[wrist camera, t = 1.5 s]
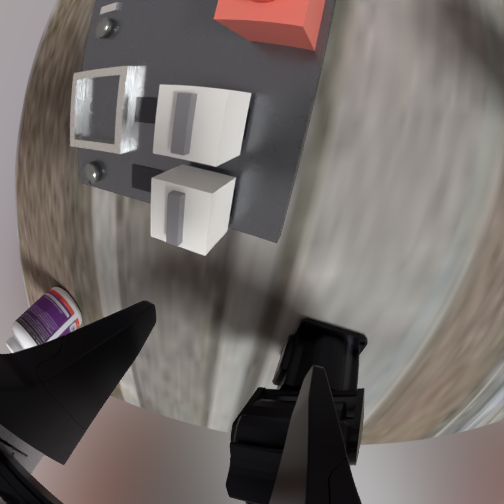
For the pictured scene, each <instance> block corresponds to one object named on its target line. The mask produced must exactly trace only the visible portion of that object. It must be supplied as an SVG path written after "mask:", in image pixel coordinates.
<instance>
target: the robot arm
mask: <svg viewBox="0 0 504 504" xmlns="http://www.w3.org/2000/svg"><path fill="white" fill-rule="evenodd" d="M155 323H156V310H155V305H154V304H153V303H151V302H148V301H142V302H139V303H137V304H135V305H132V306H130V307H128V308H125V309H123V310H121V311H118V312H116V313H114V314H112V315H109V316H107V317H105V318H102V319H100V320H98V321H95V322H93V323H91V324H88V325H86V326H84V327H81V328H79V329H77V330H75V331H72V332H70V333H68V334H66V335H63V336H60V337H58V338H56V339H53V340H51V341H48V342H46V343H43V344H40V345H37V346H34V347H30V348H27V349H24V350H21V351H17V352H14V353H10V354H0V504H63V503H62V502H61V501H60V500H58V499H57V498H56V497H55V496H54V495H52V494H51V493H50V492H49V491H48V490H47V489H46V488H45V487H44V486H42V485H41V484H40V483H39V482H38V481H37V480H36V479H35V478H34V477H33V476H32V475H31V473H32V471H33V470H34V469H35V467H36V466H37V464H38V463H39V462H40V460H41V459H42V457H43V456H44V454H45V455H46V456H48V457H50V458H51V459H53V460H55V461H57V462H59V463H61V464H63V465H64V464H65V463H66V461H67V460H68V458H69V457H70V455H71V454H72V452H73V450H74V449H75V447H76V446H77V444H78V443H79V441H80V440H81V438H82V437H83V435H84V433H85V432H86V430H87V429H88V427H89V426H90V424H91V423H92V421H93V420H94V418H95V417H96V415H97V414H98V412H99V411H100V409H101V408H102V406H103V405H104V403H105V402H106V400H107V399H108V397H109V396H110V395H111V393H112V392H113V390H114V389H115V387H116V386H117V384H118V383H119V382H120V380H121V379H122V377H123V376H124V374H125V373H126V372H127V370H128V369H129V367H130V366H131V364H132V363H133V362H134V360H135V359H136V357H137V356H138V354H139V352H140V351H141V349H142V347H143V345H144V343H145V341H146V340H147V338H148V336H149V334H150V332H151V331H152V329H153V327H154V325H155ZM305 324H307V325H305ZM361 341H363V342H361ZM366 345H367V338H366V337H364V336H361V335H357V334H354V333H351V332H347V331H344V330H341V329H338V328H334V327H331V326H328V325H325V324H322V323H319V322H315V321H312V320H309V319H302V320H301V321H300V324H299V326H298V328H297V330H296V332H295V335H293V334H292V335H290V336H289V337H288V339H287V342H286V344H285V346H284V348H283V351H282V354H281V357H280V360H279V363H278V366H277V369H276V372H275V375H274V378H273V381H272V382H273V384H275V385H278V387H277V389H266V388H263V387H258V389H257V390H256V391H255V393H254V394H253V396H252V397H251V398H250V400H249V401H248V403H247V404H246V405H245V407H244V408H243V410H242V411H241V412H240V414H239V415H238V417H237V418H236V420H235V421H234V422H233V425H232V432H231V442H230V454H231V458H230V468H229V473H228V477H227V481H226V488H227V491H228V495H229V497H231V498H235V499H238V500H242V501H245V502H246V504H362V503H361V501H360V498H359V495H358V492H357V489H356V486H355V483H354V480H353V477H352V473H351V470H350V465H356V462H357V458H358V453H359V448H360V443H361V438H362V429H363V418H364V388H362V389H357V384H358V370H359V355H360V353H361V352H362V351H363V349H364V348H365V347H366Z"/></svg>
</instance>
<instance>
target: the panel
mask: <svg viewBox="0 0 504 504" xmlns="http://www.w3.org/2000/svg"><path fill="white" fill-rule="evenodd" d="M217 3H218V0H96V3H95V7H94V11H93V15H92V19H91V23H90V28H89V32H88V37H87V43H86V48H85V54H84V61H83V68H82V72H77V73H74V75H73V84H72V96H71V114H70V146H72V147H78V165H79V183H83V184H86V185H90V186H93V187H97V188H100V189H104V190H107V191H110V192H114V193H117V194H121V195H124V196H127V197H131V198H134V199H137V200H141V201H144V202H147V203H151V179H152V177H155V176H157V175H159V174H161V173H163V172H166V171H168V170H170V169H173V168H175V167H177V166H180V165H182V164H183V165H187V166H192V167H196V168H200V169H204V170H209V171H213V172H217V173H221V174H225V175H229V176H233V177H236V180H235V186H234V192H233V198H232V204H231V210H230V217H229V223H228V228H232V229H235V230H238V231H241V232H244V233H247V234H250V235H253V236H257V237H260V238H263V239H266V240H269V241H272V242H275V243H277V242H278V240H279V238H280V236H281V232H282V228H283V224H284V221H285V217H286V213H287V209H288V206H289V202H290V198H291V194H292V190H293V186H294V182H295V178H296V174H297V171H298V167H299V163H300V159H301V155H302V151H303V146H304V142H305V138H306V134H307V130H308V126H309V122H310V117H311V113H312V109H313V105H314V100H315V96H316V92H317V87H318V83H319V79H320V74H321V70H322V65H323V61H324V56H325V51H326V47H327V42H328V37H329V33H330V28H331V23H332V18H333V13H334V8H335V3H336V0H325V4H324V9H323V14H322V19H321V23H320V28H319V33H318V37H317V42H316V47H315V51H312V50H308V49H302V48H297V47H291V46H285V45H279V44H272V43H264V42H255V41H248V40H247V39H245V38H244V37H242V36H241V35H239V34H237V33H236V32H234V31H233V30H231V29H229V28H228V27H226V26H224V25H222V24H221V23H219V22H217V21H215V20H214V15H215V11H216V7H217ZM160 84H161V85H184V86H198V87H209V88H218V89H226V90H234V91H241V92H247V93H251V98H250V103H249V108H248V113H247V118H246V124H245V129H244V135H243V140H242V146H241V151H240V155H239V156H237V157H235V158H233V159H231V160H229V161H227V162H225V163H222V164H220V165H218V166H216V167H215V166H210V165H206V164H202V163H197V162H193V161H188V160H184V159H179V158H174V157H169V156H164V155H159V154H154V153H153V143H154V131H155V121H156V111H157V102H158V94H159V87H160Z"/></svg>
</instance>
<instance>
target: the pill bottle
mask: <svg viewBox="0 0 504 504" xmlns="http://www.w3.org/2000/svg"><path fill="white" fill-rule="evenodd" d="M81 322H82V315H81V312H80V310H79V308H78V306H77V305H76V303H75V302H74V300H73V299H72V297H71V296H70V295H69V294H68V293H67V292H66V291H65V290H63V289H61V288H59V287H53V288H51V289H50V290H49V291H48V292H46V293H45V294H44V295H43V296H42V297H41V298H40V299H39V300H37V301H36V302H35V303H34V304H33V305H32V306H31V307H30V308H29V309H28V310H27V311H25V312H24V313H23V314H22V315H21V316H20V317H19V318H18V319H17V320H16V321H15V322H14V323H13V325H12V332H13V337H12V338H10V339H8V340H7V341H6V342H5V343H6V345H7V347H8V348H9V350H10V351H11V352H12V353H14V352H17V351H21V350H24V349H27V348H30V347H34V346H37V345H40V344H43V343H46V342H48V341H51V340H53V339H56V338H58V337H60V336H63V335H66V334H68V333H70V332H72V331H75V330H76V329H77V328H78V327H79V325H80V324H81Z"/></svg>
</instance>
